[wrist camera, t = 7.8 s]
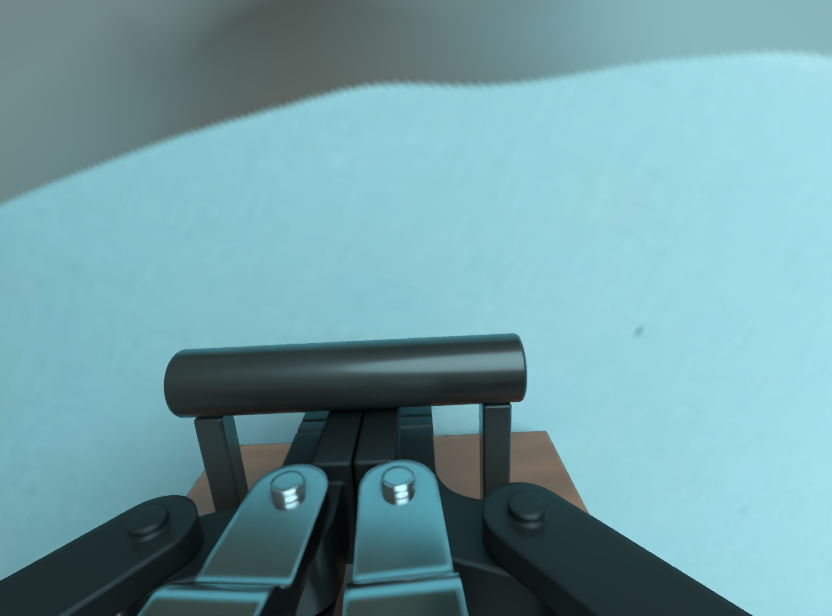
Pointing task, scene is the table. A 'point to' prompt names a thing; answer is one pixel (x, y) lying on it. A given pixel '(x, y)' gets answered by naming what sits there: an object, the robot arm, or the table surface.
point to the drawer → (363, 407)
